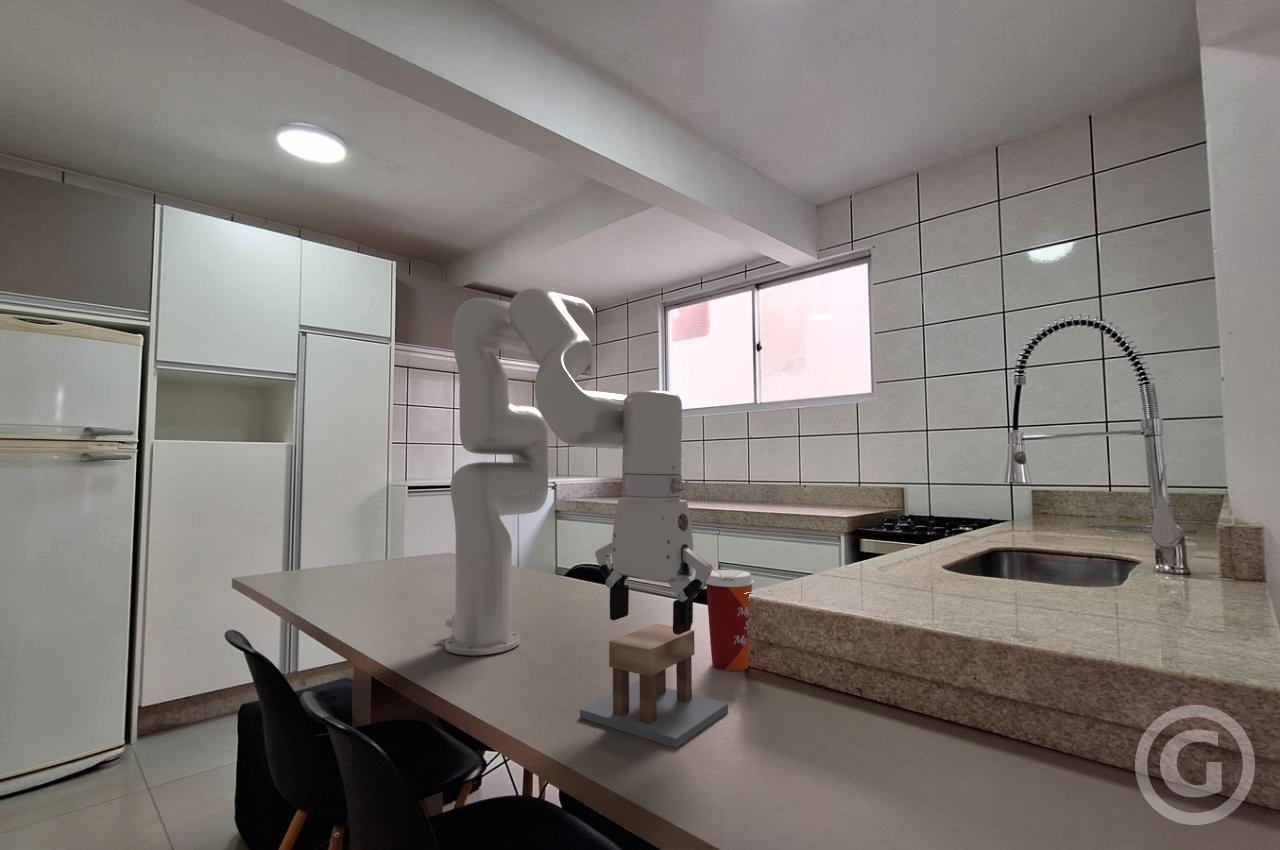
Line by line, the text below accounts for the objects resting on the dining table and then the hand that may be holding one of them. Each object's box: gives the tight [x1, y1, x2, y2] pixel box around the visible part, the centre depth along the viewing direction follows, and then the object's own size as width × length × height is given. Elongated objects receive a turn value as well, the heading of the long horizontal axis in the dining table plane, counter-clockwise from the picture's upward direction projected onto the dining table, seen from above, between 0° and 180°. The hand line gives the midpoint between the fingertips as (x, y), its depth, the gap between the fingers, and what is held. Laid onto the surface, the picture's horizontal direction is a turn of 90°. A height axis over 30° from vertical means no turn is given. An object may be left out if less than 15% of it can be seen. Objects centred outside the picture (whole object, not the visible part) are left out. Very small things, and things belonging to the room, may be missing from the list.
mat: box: [579, 680, 729, 749], centre depth 74 cm, size 14×12×1 cm
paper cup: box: [705, 569, 755, 672], centre depth 93 cm, size 8×8×14 cm
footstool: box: [608, 623, 696, 724], centre depth 75 cm, size 10×6×8 cm, turn 144°
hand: (649, 624), depth 76 cm, fingers open, 9 cm apart
